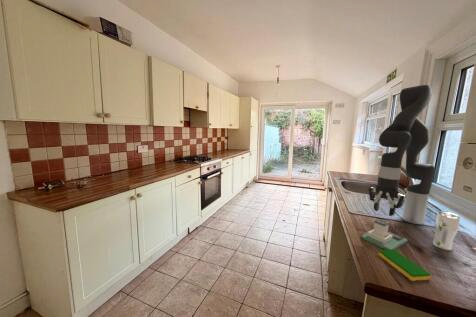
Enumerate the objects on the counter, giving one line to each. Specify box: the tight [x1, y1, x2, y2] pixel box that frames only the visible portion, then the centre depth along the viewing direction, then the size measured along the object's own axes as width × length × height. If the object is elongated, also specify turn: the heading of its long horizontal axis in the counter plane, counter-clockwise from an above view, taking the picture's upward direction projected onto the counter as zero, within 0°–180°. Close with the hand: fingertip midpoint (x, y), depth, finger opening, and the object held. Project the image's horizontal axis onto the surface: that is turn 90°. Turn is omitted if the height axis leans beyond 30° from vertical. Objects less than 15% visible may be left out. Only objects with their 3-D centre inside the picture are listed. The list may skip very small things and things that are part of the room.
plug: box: [373, 218, 390, 238], centre depth 89 cm, size 4×4×8 cm
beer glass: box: [432, 211, 461, 251], centre depth 85 cm, size 7×7×15 cm
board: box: [360, 228, 408, 250], centre depth 90 cm, size 16×12×3 cm
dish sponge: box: [378, 249, 431, 282], centre depth 73 cm, size 7×14×2 cm, turn 7°
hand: (383, 212), depth 88 cm, fingers open, 5 cm apart
